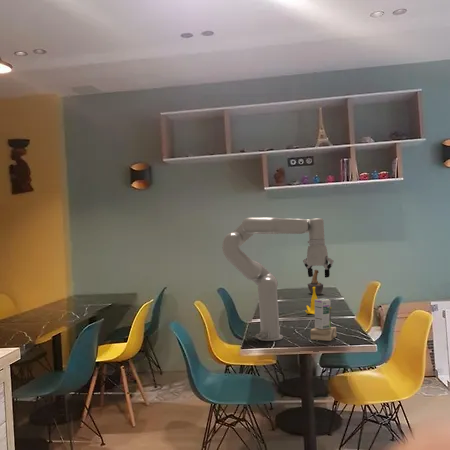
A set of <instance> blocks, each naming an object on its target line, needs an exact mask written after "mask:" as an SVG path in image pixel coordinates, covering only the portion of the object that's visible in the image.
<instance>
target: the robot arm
mask: <svg viewBox="0 0 450 450" xmlns="http://www.w3.org/2000/svg"><path fill="white" fill-rule="evenodd" d="M324 224H325V223H324V219H323V218H320V217H317V218H310V219H307V218H306V219H305V218H279V217H270V216H269V217H266V216H265V217H263V216H262V217H260V216H259V217H257V216H256V217H255V216H253V217H252V216H249V217H246V218H244V219H243V220H242V221H241V224H239V226H238V227H237V228H236V229H234V230H233V231H232V232H229V233H227V234H226V235H225V236H224V238H223V241H222V252H223V255H224V257H225V258H226V259H227V261H228V262H229V263H230V264H231V265H232V266H233V267H234V268H235V269H237V271H239V272H240V274H241V275H243V276H244V277H245V279H246V280H249V281H252V282H253V283H254V284H255V285H257V293H258V295H257V296H258V305H259V324H260V330H259V333H256V334H255V338H257V339H258V340H260V341H263V342H264V341H265V342H274V341H279V340H282V339H284V336H283V334H280V317H279V301H278V285H279V284H278V279H277V278H276V277H275V275H273V274H272V273H271V271H269V270H268V269H267V268H265V266H264V265H262V263H260V262H258V261H256V260H253V259H251V258H250V257H249V256H248V255H247V254H246V253H245V252H243V251H242V250H241V248H240V247H242V246H243V245H244V244H245V243H246V242H247V241H248V240H249V239H251V237H252V236H253V235H279V234H280V235H282V234H286V235H289V234H290V235H303V234H307V233H308V239H309V240H307V244H308V246H307V252H306V258H305V259H303V260H302V262H303V265H304V266H305V268H306V270H307V275H308V276H307V277H308V278H311V277H312V278H313V274H314V272H313V267H315V266H316V267H318V266H319V267H321V266H323V268H324V278H329V277H330V274H331V273H330V270H331V268H332V267H333V264H334V263H335V262H334V260H333V259H332V258H330V257H329V254H328V248H327V245H325V244H326V242H325V225H324Z"/></svg>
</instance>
